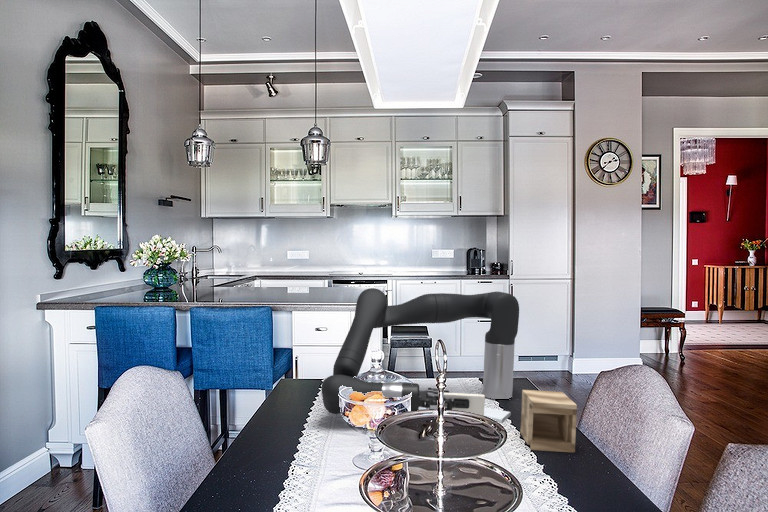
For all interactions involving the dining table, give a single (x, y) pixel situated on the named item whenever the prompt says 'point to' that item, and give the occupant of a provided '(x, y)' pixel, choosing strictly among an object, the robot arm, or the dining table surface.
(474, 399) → the cover plate
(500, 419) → the external hard drive
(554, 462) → the dining table surface
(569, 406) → the box
